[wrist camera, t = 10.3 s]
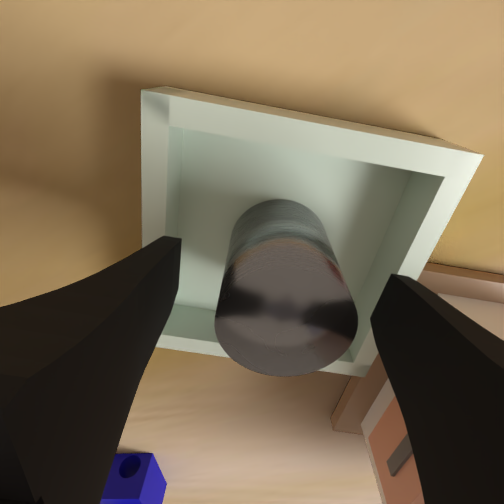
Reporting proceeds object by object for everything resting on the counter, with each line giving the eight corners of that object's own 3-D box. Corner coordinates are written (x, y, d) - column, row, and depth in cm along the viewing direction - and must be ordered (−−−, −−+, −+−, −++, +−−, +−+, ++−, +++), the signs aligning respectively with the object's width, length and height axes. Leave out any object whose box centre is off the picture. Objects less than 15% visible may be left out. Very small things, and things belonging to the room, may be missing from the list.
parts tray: (442, 139, 11) (483, 155, 9) (351, 336, 16) (364, 377, 14) (165, 86, 11) (140, 89, 9) (159, 307, 16) (142, 345, 14)
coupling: (338, 208, 12) (380, 281, 8) (311, 290, 14) (333, 384, 10) (237, 190, 12) (223, 256, 8) (224, 275, 14) (207, 366, 10)
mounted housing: (536, 280, 14) (739, 436, 8) (420, 430, 20) (488, 584, 14) (410, 259, 14) (523, 405, 8) (330, 418, 20) (359, 570, 14)
